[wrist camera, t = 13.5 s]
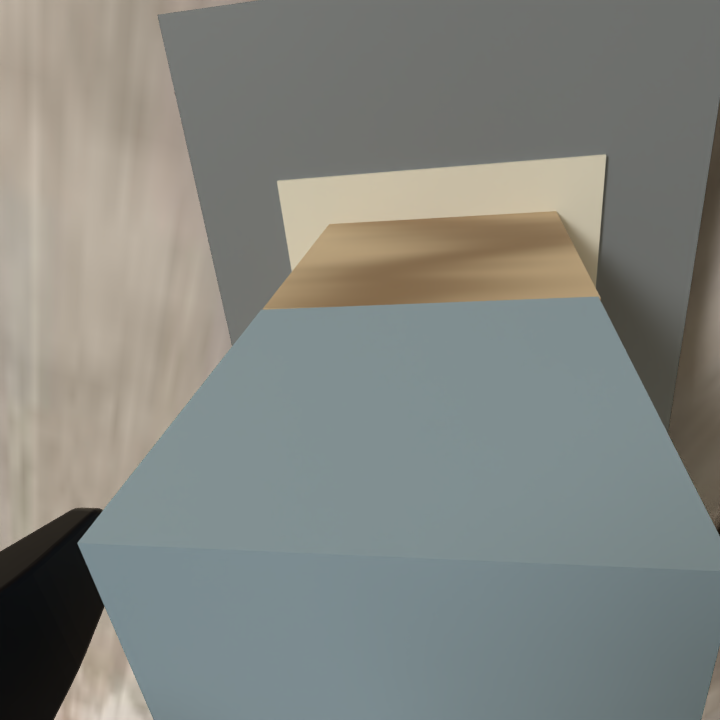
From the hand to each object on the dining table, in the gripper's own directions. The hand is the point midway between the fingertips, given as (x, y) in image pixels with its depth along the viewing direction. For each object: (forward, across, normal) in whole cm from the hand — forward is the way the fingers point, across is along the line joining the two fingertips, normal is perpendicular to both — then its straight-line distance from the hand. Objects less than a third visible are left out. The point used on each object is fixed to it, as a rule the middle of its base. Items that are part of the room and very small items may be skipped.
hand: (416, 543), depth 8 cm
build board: (+9, 0, 0) cm, 9 cm away
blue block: (+2, 0, 0) cm, 2 cm away
